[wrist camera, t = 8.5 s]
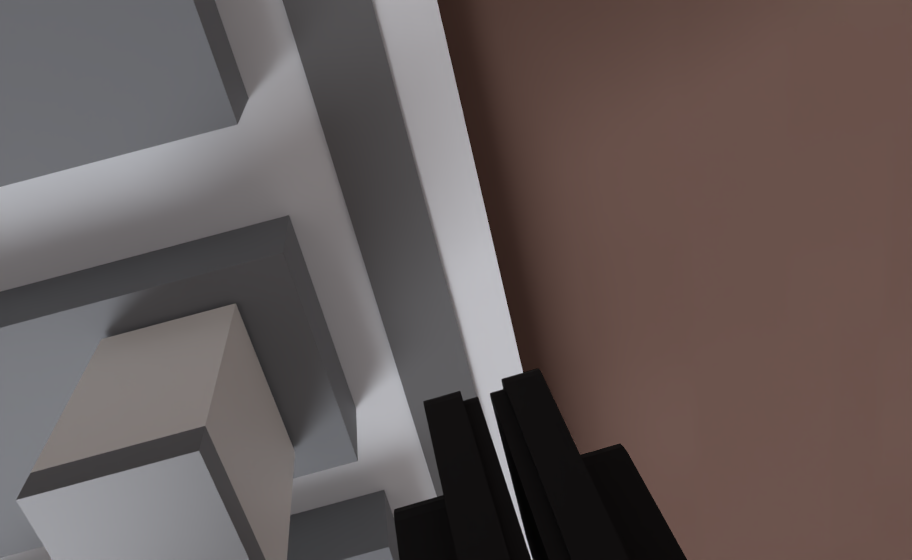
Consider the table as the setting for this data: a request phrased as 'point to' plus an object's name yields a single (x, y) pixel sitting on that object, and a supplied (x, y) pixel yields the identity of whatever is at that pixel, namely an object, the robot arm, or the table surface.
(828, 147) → the table surface
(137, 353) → the block
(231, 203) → the breaker panel
